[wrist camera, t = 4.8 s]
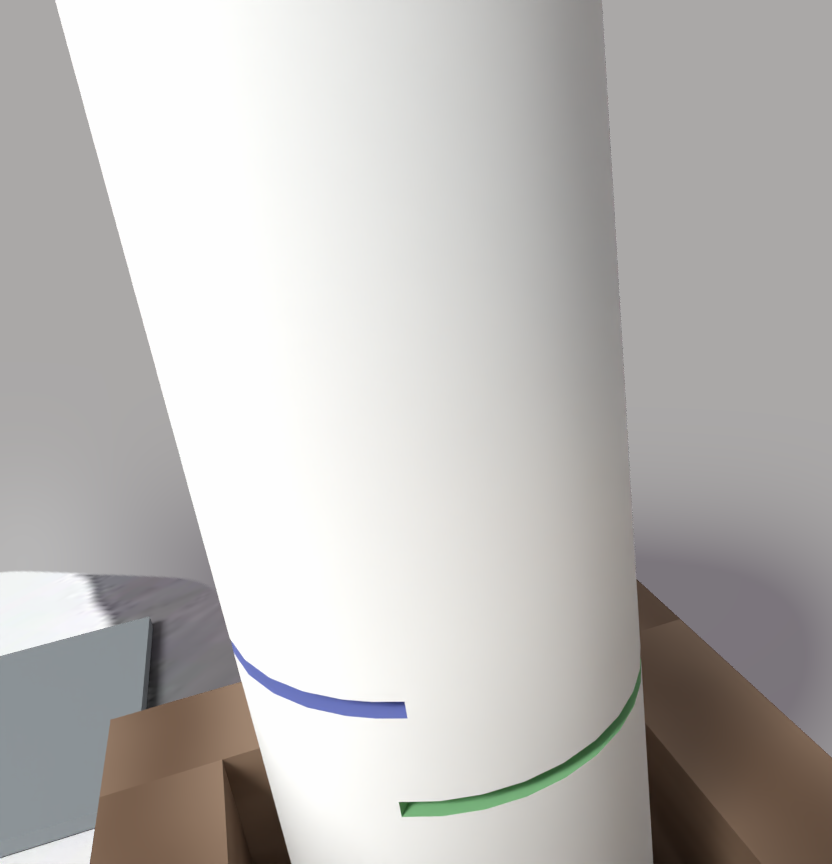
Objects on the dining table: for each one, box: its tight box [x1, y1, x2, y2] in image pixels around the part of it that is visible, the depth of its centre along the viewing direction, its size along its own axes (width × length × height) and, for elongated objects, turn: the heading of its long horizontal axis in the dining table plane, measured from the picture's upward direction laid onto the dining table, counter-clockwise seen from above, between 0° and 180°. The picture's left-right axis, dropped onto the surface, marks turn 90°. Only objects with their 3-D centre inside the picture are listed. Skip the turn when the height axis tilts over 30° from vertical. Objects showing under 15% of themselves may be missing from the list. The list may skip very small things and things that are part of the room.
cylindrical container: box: [55, 0, 653, 864], centre depth 14 cm, size 7×7×25 cm
